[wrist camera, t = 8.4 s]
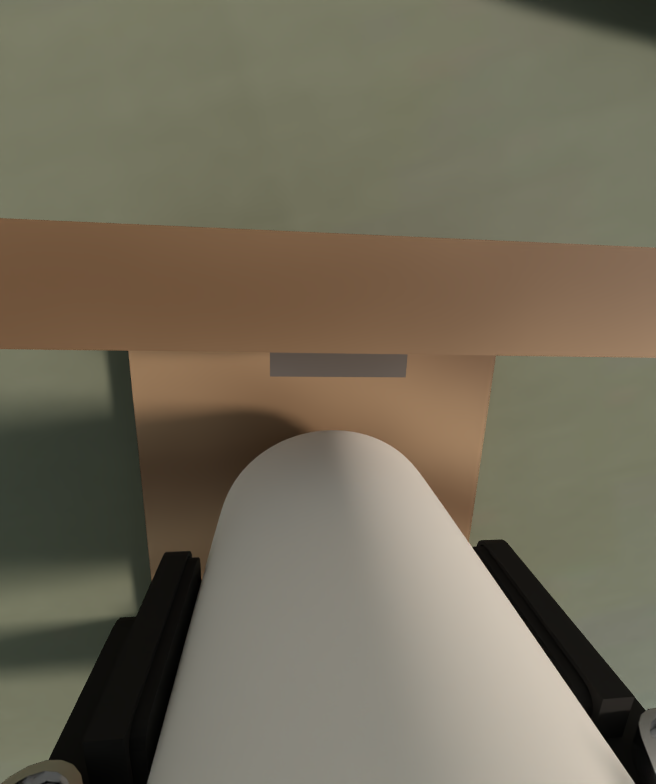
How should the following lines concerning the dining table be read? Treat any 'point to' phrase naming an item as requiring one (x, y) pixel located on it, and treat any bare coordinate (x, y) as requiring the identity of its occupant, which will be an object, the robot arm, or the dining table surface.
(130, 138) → the dining table surface
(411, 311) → the holder
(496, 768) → the can
